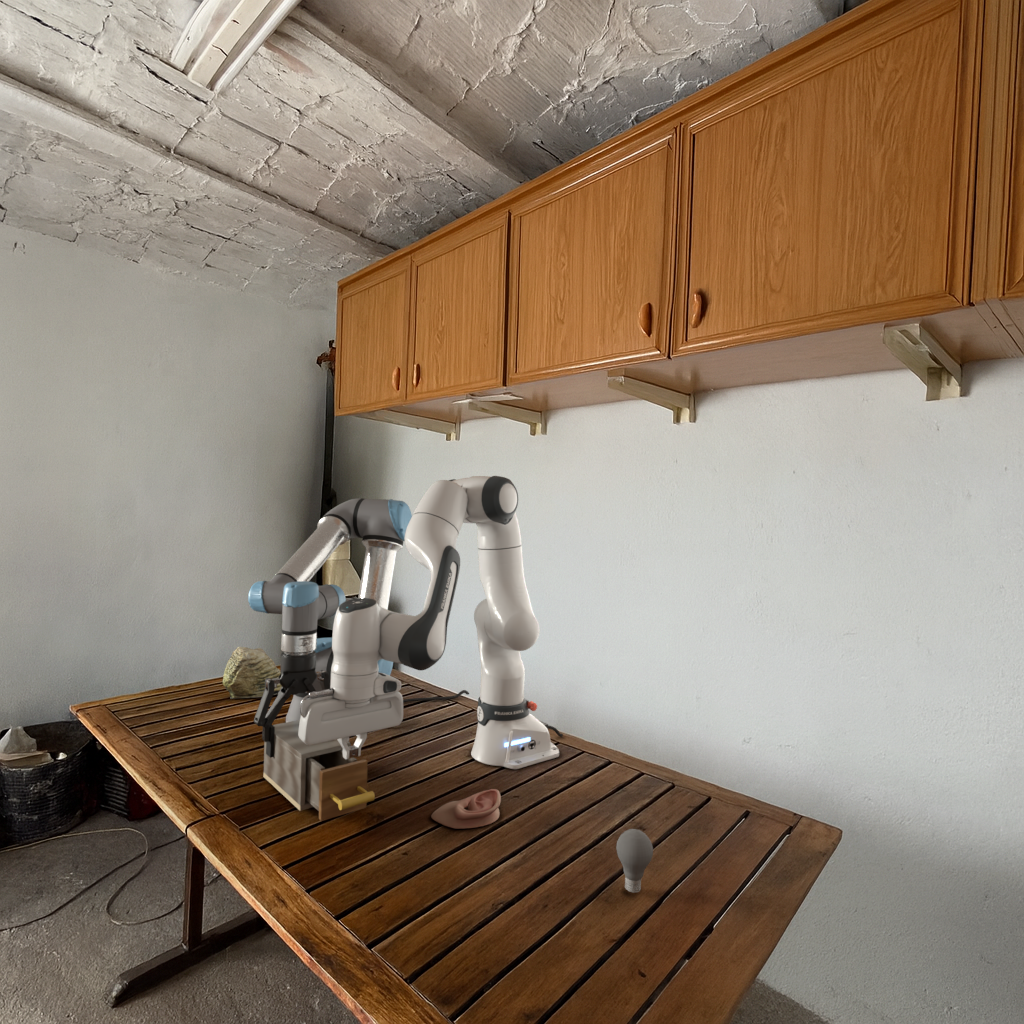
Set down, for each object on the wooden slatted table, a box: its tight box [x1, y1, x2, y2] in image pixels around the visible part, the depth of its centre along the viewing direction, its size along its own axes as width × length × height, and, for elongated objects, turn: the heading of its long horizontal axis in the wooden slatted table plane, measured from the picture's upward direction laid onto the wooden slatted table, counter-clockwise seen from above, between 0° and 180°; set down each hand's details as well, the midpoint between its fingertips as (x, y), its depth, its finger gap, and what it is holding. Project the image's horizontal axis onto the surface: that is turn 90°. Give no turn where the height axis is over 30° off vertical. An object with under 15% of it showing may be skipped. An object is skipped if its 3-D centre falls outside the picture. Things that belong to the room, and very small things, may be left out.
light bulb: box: [615, 828, 654, 894], centre depth 106 cm, size 6×6×10 cm
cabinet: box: [262, 720, 352, 812], centre depth 137 cm, size 21×11×11 cm, turn 40°
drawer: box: [305, 750, 376, 822], centre depth 128 cm, size 25×9×9 cm, turn 40°
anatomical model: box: [430, 788, 502, 830], centre depth 128 cm, size 13×4×12 cm
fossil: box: [222, 646, 282, 699], centre depth 198 cm, size 9×18×15 cm, turn 132°
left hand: (295, 749), depth 142 cm, fingers closed on cabinet, 11 cm apart
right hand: (351, 756), depth 121 cm, fingers closed
